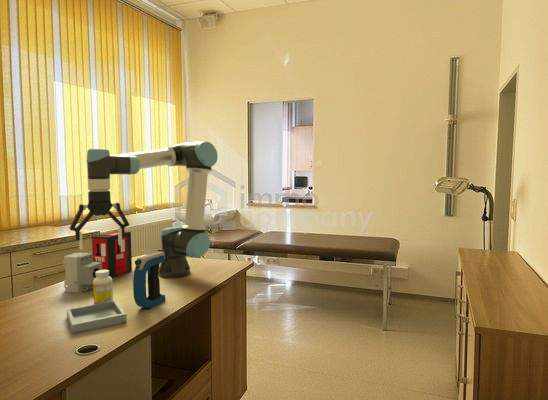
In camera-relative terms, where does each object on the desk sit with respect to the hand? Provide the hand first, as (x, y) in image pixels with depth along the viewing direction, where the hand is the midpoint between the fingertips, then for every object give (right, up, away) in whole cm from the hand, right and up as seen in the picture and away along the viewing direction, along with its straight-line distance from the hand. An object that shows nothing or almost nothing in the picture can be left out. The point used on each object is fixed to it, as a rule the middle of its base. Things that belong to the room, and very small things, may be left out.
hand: (101, 247), depth 141 cm
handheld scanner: (+19, -22, +1) cm, 29 cm away
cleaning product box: (-14, -19, +43) cm, 49 cm away
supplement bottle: (0, -22, +2) cm, 22 cm away
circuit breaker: (-15, -21, +19) cm, 32 cm away
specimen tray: (+5, -23, -13) cm, 27 cm away
